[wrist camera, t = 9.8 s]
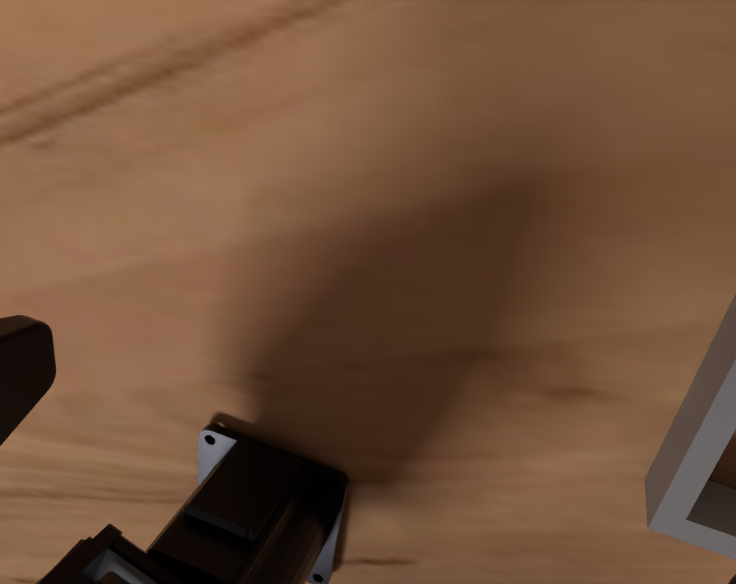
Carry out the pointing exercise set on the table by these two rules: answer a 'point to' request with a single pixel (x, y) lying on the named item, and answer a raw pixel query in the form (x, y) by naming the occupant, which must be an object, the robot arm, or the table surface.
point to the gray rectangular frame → (699, 455)
